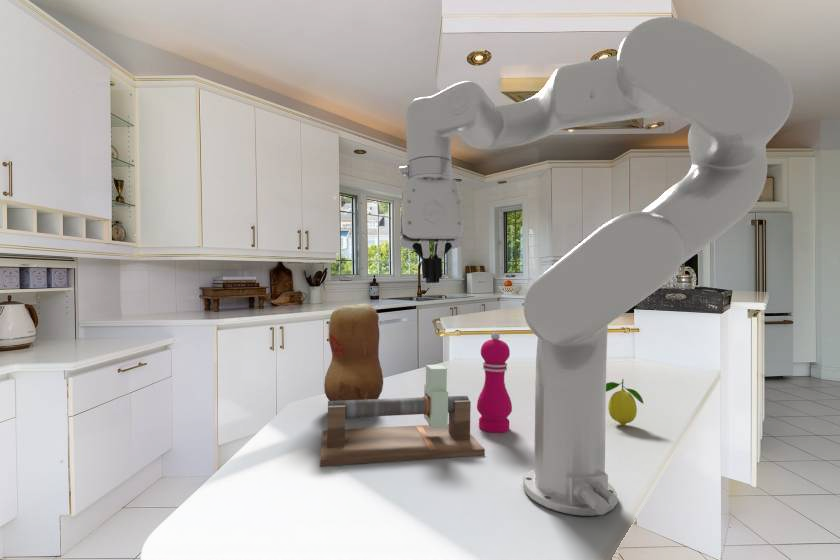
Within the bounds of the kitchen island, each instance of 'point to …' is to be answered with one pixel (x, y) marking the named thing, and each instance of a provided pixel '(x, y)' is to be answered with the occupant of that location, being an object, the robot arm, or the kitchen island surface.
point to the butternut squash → (354, 354)
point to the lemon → (622, 403)
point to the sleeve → (437, 396)
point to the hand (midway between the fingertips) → (432, 282)
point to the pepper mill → (494, 387)
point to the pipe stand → (396, 432)
